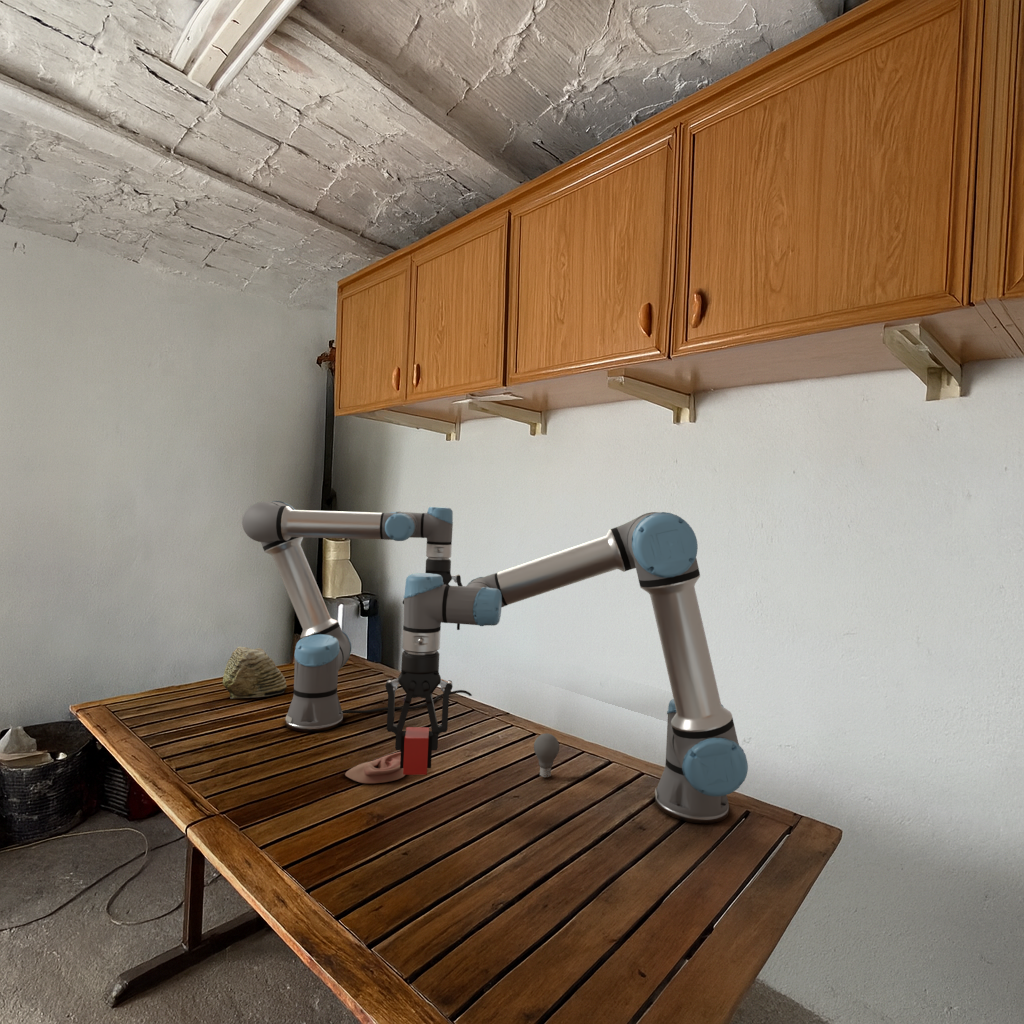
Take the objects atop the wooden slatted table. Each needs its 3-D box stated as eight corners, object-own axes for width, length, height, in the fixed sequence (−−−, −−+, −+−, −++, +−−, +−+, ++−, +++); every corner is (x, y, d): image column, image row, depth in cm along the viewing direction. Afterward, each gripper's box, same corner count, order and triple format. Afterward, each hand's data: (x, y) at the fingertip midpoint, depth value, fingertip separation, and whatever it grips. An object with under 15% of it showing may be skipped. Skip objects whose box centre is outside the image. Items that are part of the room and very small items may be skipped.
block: (403, 774, 125) (404, 738, 124) (405, 761, 131) (406, 727, 130) (426, 774, 125) (428, 738, 125) (427, 762, 131) (429, 727, 131)
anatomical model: (339, 762, 141) (361, 743, 153) (338, 780, 141) (361, 759, 153) (395, 770, 139) (413, 750, 150) (394, 788, 139) (413, 766, 150)
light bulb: (531, 771, 151) (532, 729, 150) (555, 771, 151) (557, 729, 151) (534, 782, 145) (535, 738, 145) (559, 782, 145) (561, 739, 145)
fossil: (218, 695, 195) (220, 647, 195) (278, 685, 208) (279, 640, 207) (228, 703, 189) (230, 653, 188) (289, 692, 201) (290, 645, 201)
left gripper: (395, 558, 185) (392, 630, 186) (480, 560, 188) (477, 632, 188) (397, 555, 193) (394, 625, 193) (479, 558, 195) (476, 626, 196)
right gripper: (374, 654, 123) (369, 773, 123) (465, 656, 125) (460, 773, 125) (378, 645, 130) (373, 757, 131) (464, 647, 132) (459, 758, 132)
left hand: (435, 628), depth 191 cm, fingers open, 13 cm apart
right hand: (415, 765), depth 128 cm, fingers closed on block, 5 cm apart
